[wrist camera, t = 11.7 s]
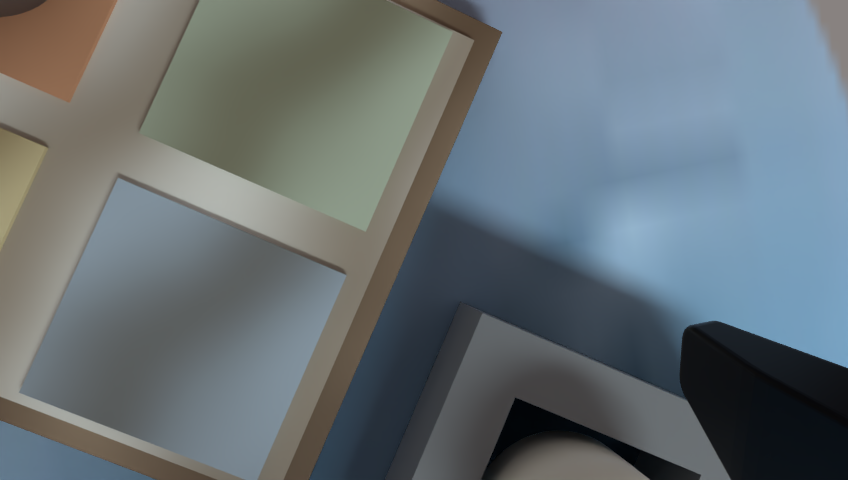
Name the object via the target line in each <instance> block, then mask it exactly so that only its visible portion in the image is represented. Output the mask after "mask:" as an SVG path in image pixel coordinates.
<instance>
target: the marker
mask: <svg viewBox="0 0 848 480" xmlns="http://www.w3.org/2000/svg"><path fill="white" fill-rule="evenodd" d="M45 1H47V0H0V17H7V16H13V15H18V14H22V13H24V12H27V11H30V10H32V9H34V8H36V7H38V6H40V5H41V4H43V3H44V2H45Z"/></svg>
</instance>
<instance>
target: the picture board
mask: <svg viewBox="0 0 848 480" xmlns="http://www.w3.org/2000/svg"><path fill="white" fill-rule="evenodd" d="M501 34H502V32H501V31H499V30H497V29H495V28H493V27H491V26H489V25H487V24H485V23H482V22H480V21H478V20H476V19H474V18H472V17H470V16H468V15H466V14H464V13H462V12H460V11H457V10H455V9H453V8H451V7H449V6H447V5H445V4H443V3H441V2H439V1H437V0H47V1H45V2H44V3H43V4H41V5H40V6H38V7H36V8H34V9H32V10H30V11H27V12H24V13H22V14H18V15H13V16H7V17H0V420H1V421H4V422H6V423H9V424H12V425H14V426H17V427H19V428H22V429H25V430H27V431H30V432H33V433H35V434H38V435H41V436H43V437H46V438H49V439H51V440H54V441H56V442H59V443H62V444H64V445H67V446H70V447H72V448H75V449H78V450H80V451H83V452H85V453H88V454H91V455H93V456H96V457H99V458H101V459H104V460H107V461H109V462H112V463H115V464H117V465H120V466H122V467H125V468H128V469H130V470H133V471H136V472H138V473H141V474H144V475H146V476H149V477H151V478H154V479H157V480H309V478H310V476H311V473H312V471H313V469H314V466H315V464H316V462H317V459H318V457H319V455H320V452H321V450H322V448H323V446H324V443H325V441H326V439H327V436H328V434H329V432H330V429H331V427H332V425H333V422H334V420H335V418H336V415H337V413H338V411H339V409H340V406H341V404H342V402H343V399H344V397H345V395H346V392H347V390H348V388H349V385H350V383H351V381H352V378H353V376H354V374H355V372H356V369H357V367H358V365H359V362H360V360H361V358H362V355H363V353H364V351H365V348H366V346H367V344H368V341H369V339H370V337H371V335H372V332H373V330H374V328H375V325H376V323H377V321H378V318H379V316H380V314H381V311H382V309H383V307H384V304H385V302H386V300H387V298H388V295H389V293H390V291H391V288H392V286H393V284H394V281H395V279H396V277H397V274H398V272H399V270H400V267H401V265H402V263H403V261H404V258H405V256H406V254H407V251H408V249H409V247H410V244H411V242H412V240H413V237H414V235H415V233H416V230H417V228H418V226H419V224H420V221H421V219H422V217H423V214H424V212H425V210H426V207H427V205H428V203H429V200H430V198H431V196H432V193H433V191H434V189H435V187H436V184H437V182H438V180H439V177H440V175H441V173H442V170H443V168H444V166H445V163H446V161H447V159H448V156H449V154H450V152H451V150H452V147H453V145H454V143H455V140H456V138H457V136H458V133H459V131H460V129H461V126H462V124H463V122H464V119H465V117H466V115H467V113H468V110H469V108H470V106H471V103H472V101H473V99H474V96H475V94H476V92H477V89H478V87H479V85H480V82H481V80H482V78H483V75H484V73H485V71H486V69H487V66H488V64H489V62H490V59H491V57H492V55H493V52H494V50H495V48H496V45H497V43H498V41H499V38H500V36H501Z"/></svg>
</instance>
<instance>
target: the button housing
mask: <svg viewBox="0 0 848 480" xmlns="http://www.w3.org/2000/svg"><path fill="white" fill-rule="evenodd" d="M515 397H516V398H518V399H521V400H523V401H526V402H528V403H530V404H533V405H535V406H537V407H540V408H542V409H545V410H547V411H549V412H552V413H554V414H557V415H559V416H561V417H564V418H566V419H569V420H571V421H573V422H576V423H578V424H581V425H583V426H585V427H588V428H590V429H593V430H595V431H597V432H600V433H602V434H605V435H607V436H609V437H612V438H614V439H617V440H619V441H621V442H624V443H626V444H629V445H631V446H633V447H636V448H638V449H641V450H640V452H639V455H638V457H637V460H636V462H635V465H634V468H636V469H637V470H638V471H640V472H641V473H642V474H643V475H645V476H646V477H647V478H649V479H650V480H731V479H730V478H729V476H728V474H727V472H726V470H725V469H724V467H723V465H722V463H721V461H720V459H719V458H718V456H717V454H716V452H715V450H714V448H713V447H712V445H711V443H710V441H709V439H708V438H707V436H706V434H705V432H704V430H703V428H702V427H701V425H700V423H699V421H698V419H697V417H696V416H695V414H694V412H693V410H692V408H691V407H690V405H689V403H688V401H687V399H685V398H683V397H681V396H678V395H676V394H674V393H671V392H669V391H667V390H664V389H662V388H660V387H657V386H655V385H653V384H650V383H648V382H646V381H643V380H641V379H639V378H636V377H634V376H632V375H629V374H627V373H625V372H622V371H620V370H618V369H616V368H613V367H611V366H609V365H606V364H604V363H602V362H599V361H597V360H595V359H592V358H590V357H588V356H585V355H583V354H581V353H578V352H576V351H574V350H571V349H569V348H567V347H564V346H562V345H560V344H557V343H555V342H553V341H550V340H548V339H546V338H543V337H541V336H539V335H536V334H534V333H532V332H529V331H527V330H525V329H522V328H520V327H518V326H515V325H513V324H511V323H509V322H506V321H504V320H502V319H499V318H497V317H495V316H492V315H490V314H488V313H485V312H483V311H481V310H478V309H476V308H474V307H471V306H469V305H467V304H464V303H462V302H460V304H459V306H458V309H457V311H456V313H455V316H454V318H453V320H452V323H451V325H450V327H449V330H448V332H447V335H446V337H445V339H444V342H443V344H442V346H441V349H440V351H439V353H438V356H437V358H436V360H435V363H434V365H433V367H432V370H431V372H430V374H429V377H428V379H427V381H426V384H425V386H424V389H423V391H422V393H421V396H420V398H419V400H418V403H417V405H416V407H415V410H414V412H413V414H412V417H411V419H410V421H409V424H408V426H407V428H406V431H405V433H404V435H403V438H402V440H401V443H400V445H399V447H398V450H397V452H396V454H395V457H394V459H393V461H392V464H391V466H390V468H389V471H388V473H387V475H386V478H385V480H481V478H482V476H483V474H484V471H485V469H486V466H487V464H488V462H489V459H490V457H491V454H492V452H493V450H494V447H495V445H496V443H497V440H498V438H499V435H500V433H501V431H502V428H503V426H504V423H505V421H506V419H507V416H508V414H509V411H510V409H511V407H512V404H513V402H514V399H515Z"/></svg>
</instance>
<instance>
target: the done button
mask: <svg viewBox="0 0 848 480" xmlns="http://www.w3.org/2000/svg"><path fill="white" fill-rule="evenodd" d="M481 480H650V479H649V478H647V477H646V476H645V475H643V474H642V473H641V472H640V471H638V470H637V469H636V468H634V467H633V466H632V465H631V464H629V463H628V462H627V461H625V460H624V459H623V458H621V457H620V456H619V455H618V454H616V453H615V452H614V451H612V450H611V449H610V448H609V447H607V446H606V445H604V444H603V443H601V442H600V441H598V440H596V439H594V438H592V437H590V436H587V435H584V434H581V433H578V432H573V431H564V430H553V431H544V432H540V433H535V434H532V435H530V436H527V437H524V438H522V439H520V440H519V441H517V442H515V443H513V444H512V445H510V446H509V447H507V448H506V449H505V450H503V451H502V452H501V453H500V454H499V455H498V456H497V457H496V458H495V459H494V460H493V461H492V463H491V464H490V465H489V466H488V468H487V469H486V471H485V472H484V474H483V476H482V478H481Z"/></svg>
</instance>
